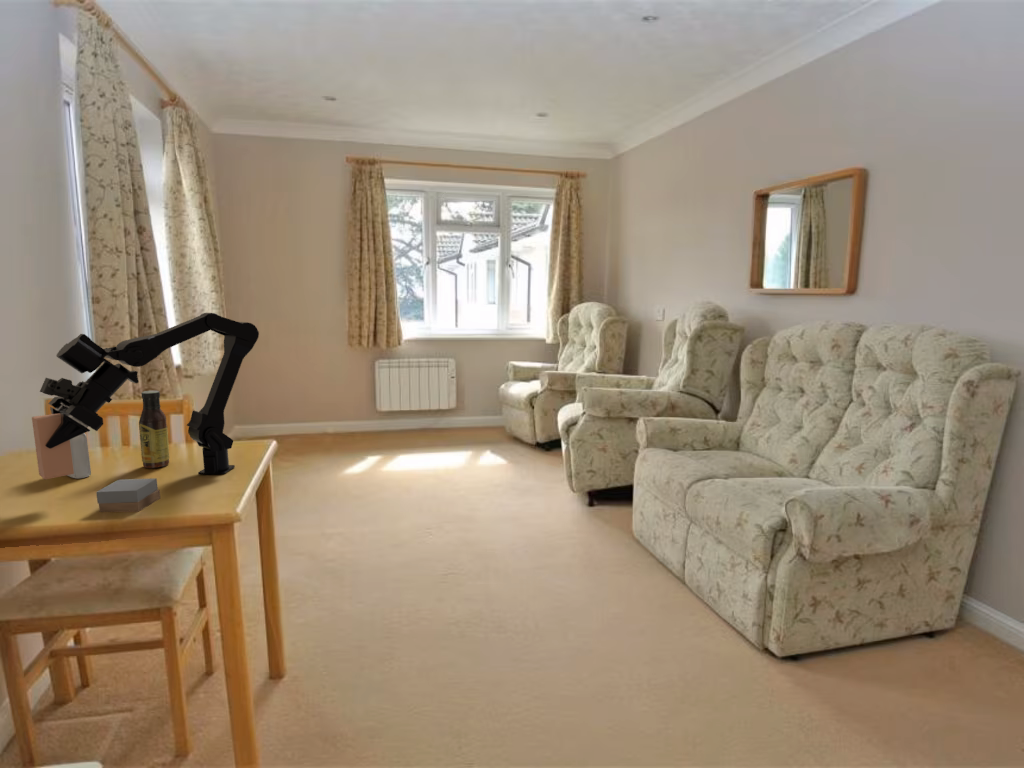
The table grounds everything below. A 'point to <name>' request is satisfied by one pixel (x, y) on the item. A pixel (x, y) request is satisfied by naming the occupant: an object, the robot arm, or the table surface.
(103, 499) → the slate slab
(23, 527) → the table surface
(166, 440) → the sauce bottle
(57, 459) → the terracotta pillar
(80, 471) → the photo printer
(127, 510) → the walnut slab
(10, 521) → the table surface
